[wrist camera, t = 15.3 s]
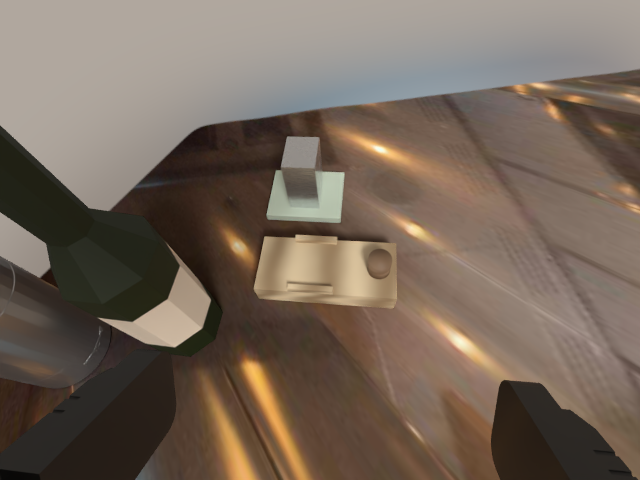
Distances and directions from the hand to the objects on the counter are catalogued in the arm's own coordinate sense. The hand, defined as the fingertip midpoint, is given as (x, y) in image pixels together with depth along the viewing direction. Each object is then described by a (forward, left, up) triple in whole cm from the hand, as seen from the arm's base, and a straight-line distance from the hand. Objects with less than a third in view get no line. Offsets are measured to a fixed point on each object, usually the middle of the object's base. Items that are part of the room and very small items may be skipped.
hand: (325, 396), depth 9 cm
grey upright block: (-7, +29, -30) cm, 42 cm away
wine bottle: (-19, +10, -31) cm, 38 cm away
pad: (-7, +29, -31) cm, 43 cm away
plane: (-3, +17, -31) cm, 35 cm away
